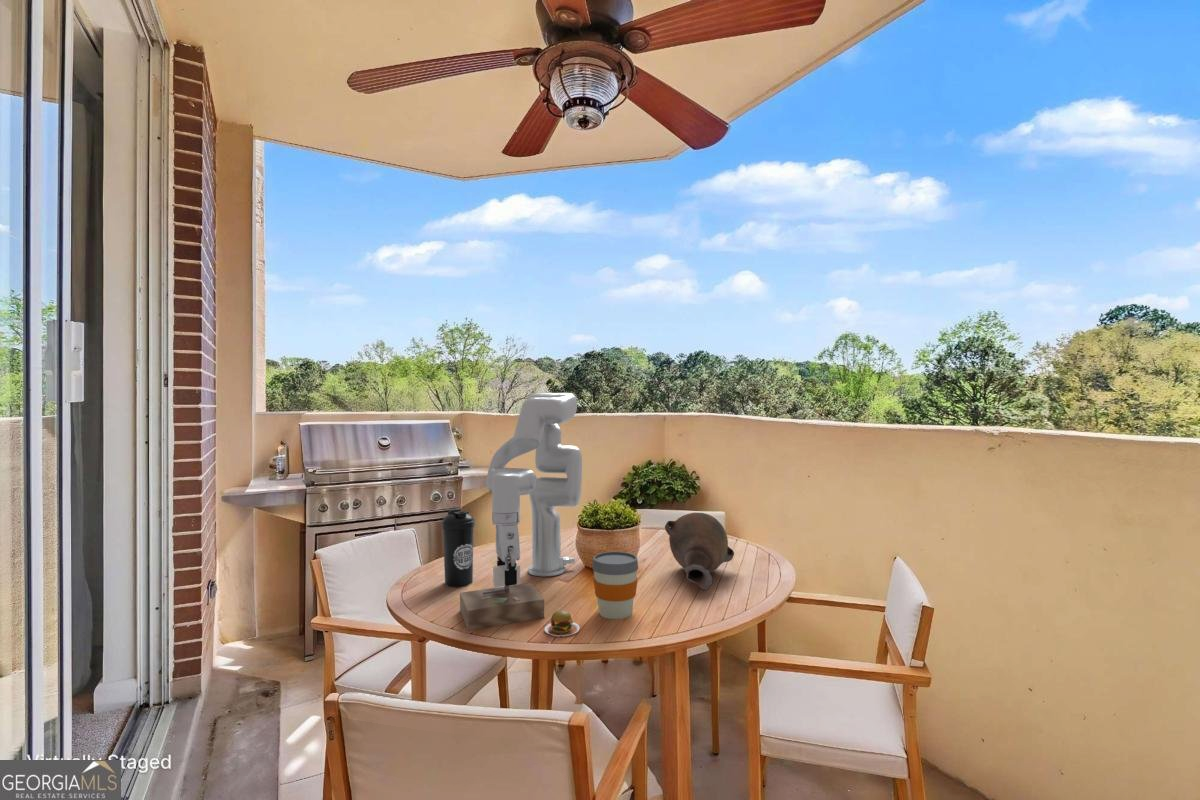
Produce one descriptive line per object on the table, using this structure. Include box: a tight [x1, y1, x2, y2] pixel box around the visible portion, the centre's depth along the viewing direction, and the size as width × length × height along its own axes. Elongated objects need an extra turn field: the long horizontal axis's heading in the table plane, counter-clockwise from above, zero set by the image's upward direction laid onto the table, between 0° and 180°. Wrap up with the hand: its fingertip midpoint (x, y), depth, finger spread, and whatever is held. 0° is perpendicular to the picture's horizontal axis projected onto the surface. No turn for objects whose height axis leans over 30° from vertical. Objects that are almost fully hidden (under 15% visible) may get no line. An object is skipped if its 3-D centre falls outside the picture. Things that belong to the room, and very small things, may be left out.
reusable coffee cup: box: [592, 551, 639, 620], centre depth 153 cm, size 12×13×15 cm
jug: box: [664, 512, 735, 591], centre depth 183 cm, size 20×20×30 cm
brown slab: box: [459, 582, 545, 631], centre depth 153 cm, size 20×14×5 cm
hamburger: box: [544, 609, 581, 637], centre depth 142 cm, size 12×12×6 cm
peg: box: [483, 563, 521, 594], centre depth 155 cm, size 10×2×7 cm, turn 112°
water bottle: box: [441, 508, 476, 588], centre depth 179 cm, size 10×10×23 cm
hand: (506, 579), depth 155 cm, fingers open, 9 cm apart
